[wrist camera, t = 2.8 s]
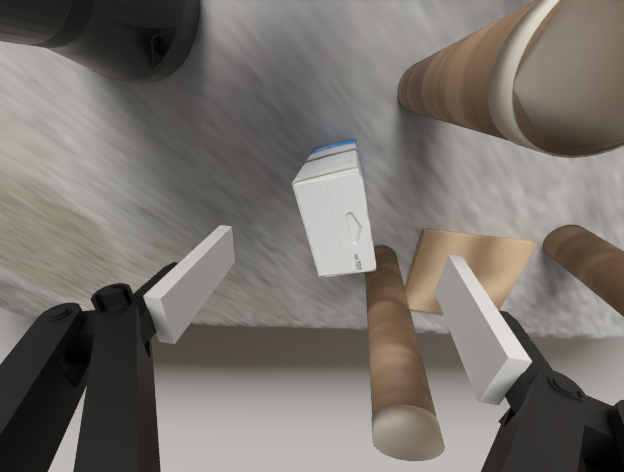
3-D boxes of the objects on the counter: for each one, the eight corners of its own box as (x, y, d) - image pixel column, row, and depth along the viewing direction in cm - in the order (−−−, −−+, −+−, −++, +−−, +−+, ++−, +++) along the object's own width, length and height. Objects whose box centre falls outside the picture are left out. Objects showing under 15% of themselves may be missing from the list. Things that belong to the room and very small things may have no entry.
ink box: (312, 148, 27) (285, 179, 17) (359, 137, 26) (361, 164, 16) (328, 219, 31) (315, 280, 21) (370, 213, 30) (377, 274, 20)
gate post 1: (361, 269, 34) (367, 452, 16) (366, 243, 32) (379, 420, 14) (392, 273, 33) (432, 466, 16) (400, 247, 31) (454, 435, 14)
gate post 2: (392, 111, 24) (482, 150, 7) (402, 59, 22) (565, -66, 5) (436, 114, 24) (648, 164, 7) (451, 62, 22) (815, -66, 5)
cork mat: (399, 303, 35) (400, 307, 35) (423, 228, 30) (424, 231, 29) (489, 317, 34) (492, 321, 34) (533, 241, 28) (537, 245, 28)
